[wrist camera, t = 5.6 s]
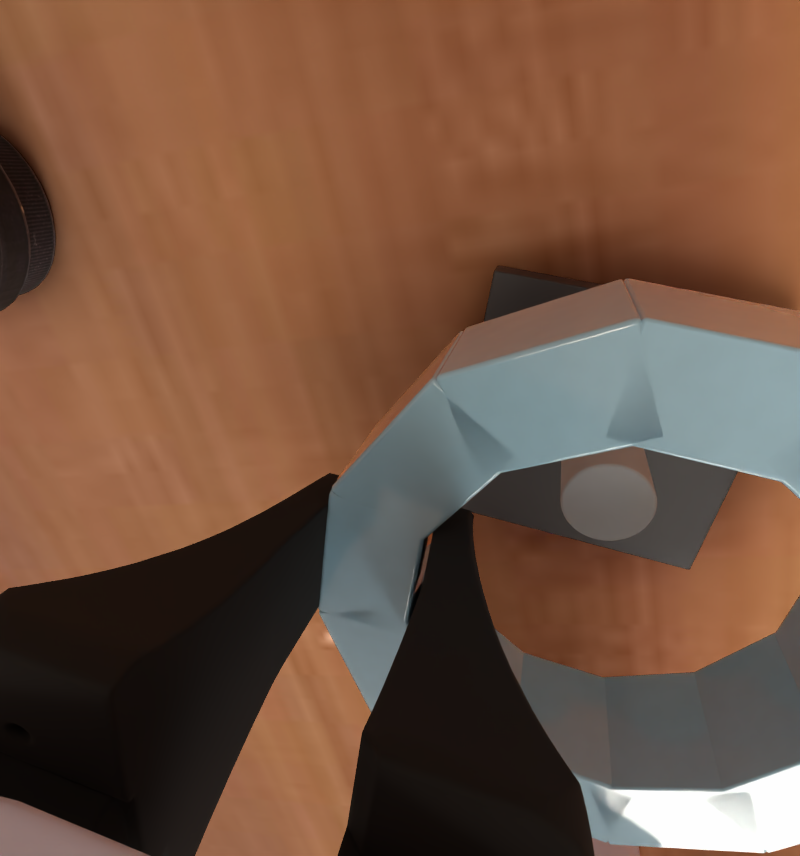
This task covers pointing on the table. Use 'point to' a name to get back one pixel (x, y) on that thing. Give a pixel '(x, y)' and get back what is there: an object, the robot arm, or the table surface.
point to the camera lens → (22, 227)
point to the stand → (603, 472)
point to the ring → (575, 437)
